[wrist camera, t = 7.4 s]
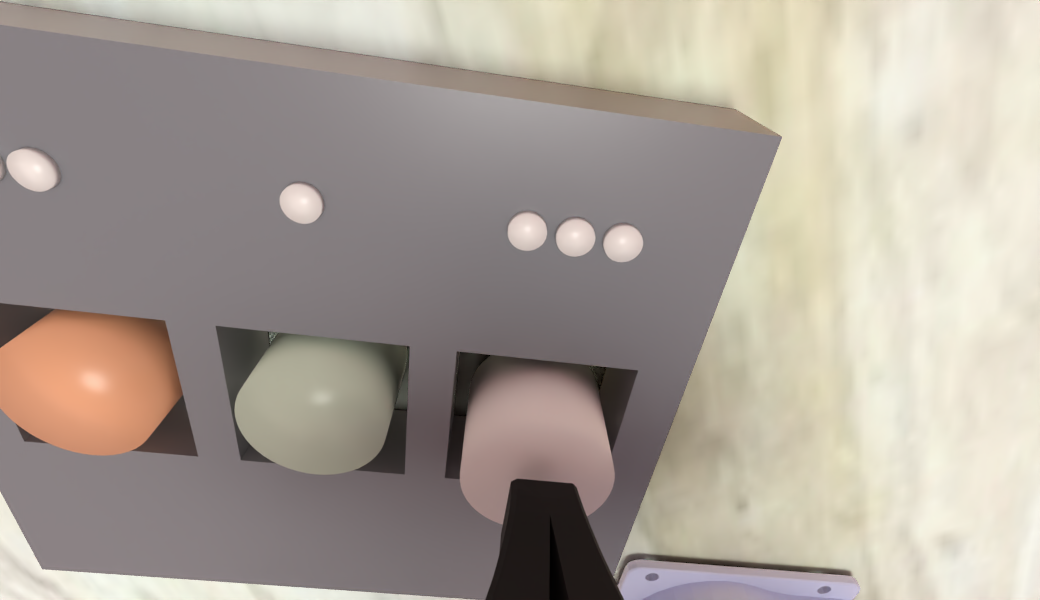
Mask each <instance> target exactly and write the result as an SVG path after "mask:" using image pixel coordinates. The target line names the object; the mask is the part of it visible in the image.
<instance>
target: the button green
mask: <svg viewBox="0 0 1040 600" xmlns="http://www.w3.org/2000/svg"><path fill="white" fill-rule="evenodd" d="M407 358H408V352H407V346H402V345H393V344H384V343H374V342H365V341H355V340H346V339H336V338H327V337H317V336H308V335H298V334H289V333H278V334H277V336H276V337H275V339H274V340H273V341H272V343H271V344H270V346H269V347H268V349H267V350H266V352H265V353H264V355H263V356H262V358H261V359H260V361H259V362H258V364H257V365H256V367H255V368H254V370H253V371H252V373H251V374H250V376H249V377H248V379H247V380H246V382H245V383H244V385H243V386H242V388H241V389H240V391H239V393H238V395H237V398H236V401H235V409H234V410H235V418H236V422H237V425H238V427H239V429H240V431H241V433H242V434H243V436H244V437H245V439H246V440H247V441H248V442H249V444H250V445H251V446H252V447H253V448H255V449H256V450H257V451H258V452H259V453H261V454H262V455H263V456H265V457H266V458H268V459H269V460H271V461H273V462H275V463H277V464H279V465H281V466H284V467H286V468H289V469H292V470H295V471H299V472H303V473H309V474H318V475H332V474H340V473H345V472H349V471H353V470H355V469H358V468H360V467H362V466H364V465H366V464H367V463H369V462H370V461H371V460H372V459H374V458H375V457H376V456H377V454H378V453H379V452H380V450H381V449H382V447H383V445H384V442H385V439H386V435H387V432H388V428H389V425H390V421H391V418H392V414H393V410H394V407H395V403H396V400H397V396H398V393H399V389H400V386H401V382H402V379H403V375H404V372H405V368H406V364H407Z"/></svg>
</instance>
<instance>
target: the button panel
mask: <svg viewBox="0 0 1040 600" xmlns="http://www.w3.org/2000/svg"><path fill="white" fill-rule="evenodd" d="M781 139H782V136H780V135H778V134H777V133H775V132H773V131H771V130H770V129H768V128H766V127H765V126H763V125H761V124H759V123H758V122H756V121H754V120H753V119H751V118H749V117H748V116H746V115H744V114H742V113H741V112H739V111H737V110H736V109H730V108H723V107H716V106H709V105H702V104H696V103H689V102H682V101H675V100H668V99H661V98H655V97H648V96H641V95H634V94H627V93H620V92H614V91H607V90H600V89H593V88H586V87H579V86H573V85H566V84H559V83H552V82H545V81H538V80H532V79H525V78H518V77H511V76H504V75H498V74H491V73H484V72H477V71H470V70H463V69H457V68H450V67H443V66H436V65H429V64H422V63H416V62H409V61H402V60H395V59H388V58H381V57H375V56H368V55H361V54H354V53H347V52H341V51H334V50H327V49H320V48H313V47H306V46H300V45H293V44H286V43H279V42H272V41H265V40H259V39H252V38H245V37H238V36H231V35H224V34H218V33H211V32H204V31H197V30H190V29H183V28H177V27H170V26H163V25H156V24H149V23H143V22H136V21H129V20H122V19H115V18H108V17H102V16H95V15H88V14H81V13H74V12H67V11H61V10H54V9H47V8H40V7H33V6H26V5H20V4H13V3H6V2H0V348H1V347H2V346H4V345H5V344H7V343H8V342H9V341H11V340H12V339H14V338H15V337H16V336H18V335H19V334H21V333H22V332H23V331H25V330H26V329H28V328H29V327H30V326H32V325H33V324H35V323H36V322H37V321H39V320H40V319H42V318H43V317H44V316H46V315H47V314H49V313H50V312H51V311H53V310H54V309H62V310H71V311H81V312H90V313H100V314H109V315H118V316H128V317H137V318H147V319H156V320H165V322H166V326H167V330H168V334H169V338H170V343H171V347H172V351H173V355H174V359H175V363H176V367H177V371H178V375H179V379H180V384H181V388H182V392H183V395H182V397H181V398H180V399H179V400H178V402H177V403H176V404H175V405H174V407H173V408H172V409H171V410H170V412H169V413H168V414H167V415H166V417H165V418H164V419H163V420H162V422H161V423H160V424H159V425H158V427H157V428H156V429H155V430H154V432H153V433H152V434H151V435H150V437H149V438H148V439H147V440H146V441H145V442H144V443H143V444H142V445H141V446H139V447H137V448H136V449H134V450H131V451H129V452H126V453H122V454H116V455H105V456H101V455H88V454H81V453H77V452H72V451H69V450H65V449H62V448H59V447H57V446H54V445H51V444H49V443H47V442H45V441H42V440H41V439H39V438H37V437H35V436H33V435H32V434H30V433H28V432H27V431H25V430H24V429H22V428H21V427H20V426H18V425H17V424H16V423H15V422H13V421H12V420H11V419H10V418H9V417H8V416H7V415H6V414H5V413H4V412H3V411H2V410H1V409H0V492H1V493H2V495H3V497H4V499H5V501H6V503H7V504H8V506H9V508H10V510H11V512H12V514H13V516H14V517H15V519H16V521H17V523H18V525H19V527H20V529H21V530H22V532H23V534H24V536H25V538H26V540H27V542H28V543H29V545H30V547H31V549H32V551H33V553H34V555H35V556H36V558H37V560H38V562H39V564H40V566H41V568H42V569H48V570H63V571H77V572H91V573H106V574H120V575H134V576H148V577H163V578H177V579H191V580H206V581H220V582H234V583H248V584H263V585H277V586H291V587H306V588H320V589H334V590H349V591H363V592H377V593H391V594H406V595H420V596H434V597H449V598H463V599H477V600H485V599H486V596H487V593H488V590H489V587H490V585H491V582H492V578H493V575H494V572H495V568H496V565H497V561H498V558H499V551H500V540H501V531H502V526H503V525H502V524H499V523H497V522H494V521H492V520H490V519H488V518H486V517H484V516H483V515H482V514H480V513H479V512H477V511H476V510H475V509H474V508H473V507H472V506H471V505H470V504H469V502H468V501H467V500H466V498H465V496H464V494H463V492H462V489H461V485H460V468H461V460H462V451H463V442H464V433H465V424H466V416H457V415H454V406H455V396H456V386H457V376H458V365H459V355H460V352H469V353H478V354H488V355H497V356H507V357H516V358H526V359H535V360H544V361H554V362H563V363H573V364H582V365H592V366H601V367H606V370H605V373H604V377H603V381H602V384H601V388H600V391H599V396H600V401H601V406H602V411H603V416H604V421H605V426H606V431H607V436H608V441H609V445H610V450H611V455H612V460H613V465H614V471H615V480H614V484H613V488H612V490H611V493H610V495H609V496H608V498H607V499H606V501H605V502H604V503H603V504H602V505H601V506H600V507H599V508H598V509H597V510H596V511H594V512H593V513H592V514H590V515H589V516H587V518H588V520H589V523H590V526H591V528H592V530H593V533H594V535H595V538H596V540H597V542H598V545H599V547H600V549H601V552H602V554H603V556H604V558H605V561H606V563H607V565H608V567H609V569H610V571H611V573H612V576H613V575H614V573H615V570H616V568H617V565H618V562H619V560H620V557H621V555H622V552H623V549H624V547H625V544H626V542H627V539H628V536H629V534H630V531H631V529H632V526H633V523H634V521H635V518H636V516H637V513H638V510H639V508H640V505H641V503H642V500H643V497H644V495H645V492H646V490H647V487H648V484H649V482H650V479H651V477H652V474H653V471H654V469H655V466H656V464H657V461H658V458H659V456H660V453H661V451H662V448H663V445H664V443H665V440H666V438H667V435H668V432H669V430H670V427H671V425H672V422H673V419H674V417H675V414H676V412H677V409H678V406H679V404H680V401H681V399H682V396H683V393H684V391H685V388H686V386H687V383H688V380H689V378H690V375H691V373H692V370H693V367H694V365H695V362H696V360H697V357H698V354H699V352H700V349H701V347H702V344H703V341H704V339H705V336H706V334H707V331H708V328H709V326H710V323H711V321H712V318H713V315H714V313H715V310H716V308H717V305H718V302H719V300H720V297H721V295H722V292H723V289H724V287H725V284H726V282H727V279H728V276H729V274H730V271H731V269H732V266H733V263H734V261H735V258H736V256H737V253H738V250H739V248H740V245H741V243H742V240H743V237H744V235H745V232H746V230H747V227H748V224H749V222H750V219H751V217H752V214H753V211H754V209H755V206H756V204H757V201H758V198H759V196H760V193H761V191H762V188H763V186H764V183H765V180H766V178H767V175H768V173H769V170H770V167H771V165H772V162H773V160H774V157H775V154H776V152H777V149H778V147H779V144H780V141H781ZM268 331H270V332H279V333H289V334H298V335H308V336H317V337H327V338H336V339H346V340H355V341H365V342H374V343H384V344H393V345H402V346H410V354H409V379H408V405H407V411H406V410H395V409H394V410H393V414H392V418H391V421H390V425H389V428H388V432H387V435H386V439H385V442H384V445H383V447H382V449H381V450H380V452H379V453H378V454H377V456H376V457H375V458H374V459H372V460H371V461H370V462H369V463H367V464H366V465H364V466H362V467H360V468H358V469H355V470H353V471H349V472H345V473H340V474H332V475H318V474H309V473H303V472H299V471H295V470H292V469H289V468H286V467H284V466H281V465H279V464H277V463H275V462H273V461H271V460H269V459H268V458H266V457H265V456H263V455H262V454H261V453H259V452H258V451H257V450H256V449H255V448H253V447H252V446H251V445H250V444H249V442H248V441H247V440H246V439H245V437H244V436H243V434H242V433H241V431H240V429H239V427H238V425H237V422H236V418H235V410H234V409H235V401H236V398H237V395H238V393H239V391H240V389H241V388H242V386H243V385H244V383H245V382H246V380H247V379H248V377H249V376H250V374H251V373H252V371H253V370H254V368H255V367H256V365H257V364H258V362H259V361H260V359H261V358H262V356H263V355H264V353H265V352H266V350H267V349H268V347H269V346H270V345H269V338H268Z"/></svg>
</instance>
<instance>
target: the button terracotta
mask: <svg viewBox="0 0 1040 600" xmlns="http://www.w3.org/2000/svg"><path fill="white" fill-rule="evenodd" d="M182 395H183V392H182V388H181V384H180V379H179V375H178V371H177V367H176V363H175V359H174V355H173V351H172V347H171V343H170V338H169V334H168V330H167V326H166V322H165V320H156V319H147V318H137V317H128V316H118V315H109V314H100V313H90V312H81V311H71V310H62V309H54V310H53V311H51V312H50V313H49V314H47V315H46V316H44V317H43V318H42V319H40V320H39V321H37V322H36V323H35V324H33V325H32V326H30V327H29V328H28V329H26V330H25V331H23V332H22V333H21V334H19V335H18V336H16V337H15V338H14V339H12V340H11V341H9V342H8V343H7V344H5V345H4V346H2V347H1V348H0V409H1V410H2V411H3V412H4V413H5V414H6V415H7V416H8V417H9V418H10V419H11V420H12V421H13V422H15V423H16V424H17V425H18V426H20V427H21V428H22V429H24V430H25V431H27V432H28V433H30V434H32V435H33V436H35V437H37V438H39V439H41V440H42V441H45V442H47V443H49V444H51V445H54V446H57V447H59V448H62V449H65V450H69V451H72V452H77V453H81V454H88V455H101V456H105V455H116V454H122V453H126V452H129V451H131V450H134V449H136V448H137V447H139V446H141V445H142V444H143V443H144V442H145V441H146V440H147V439H148V438H149V437H150V435H151V434H152V433H153V432H154V430H155V429H156V428H157V427H158V425H159V424H160V423H161V422H162V420H163V419H164V418H165V417H166V415H167V414H168V413H169V412H170V410H171V409H172V408H173V407H174V405H175V404H176V403H177V402H178V400H179V399H180V398H181V397H182Z"/></svg>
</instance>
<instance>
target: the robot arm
mask: <svg viewBox="0 0 1040 600" xmlns="http://www.w3.org/2000/svg"><path fill="white" fill-rule="evenodd" d="M859 591H860V586H859V584H858V582H857V580H856V579H855V578H854V577H852V576H847V575H834V574H821V573H808V572H795V571H782V570H769V569H756V568H744V567H731V566H718V565H705V564H692V563H679V562H666V561H653V560H633V561H630V562H629V563H628V564H627V565H626V566H625V568H624V571H623V573H622V576H621V578H620V581H619V583H618V586H617V584H616V582H615V580H614V578H613V576H612V573H611V571H610V569H609V567H608V565H607V563H606V561H605V558H604V556H603V554H602V552H601V549H600V547H599V545H598V542H597V540H596V538H595V535H594V533H593V530H592V528H591V526H590V523H589V520H588V518H587V515H586V513H585V510H584V507H583V504H582V502H581V499H580V496H579V493H578V490H577V487H576V486H575V485H574V484H573V483H563V482H552V481H540V480H528V479H515V480H513V481H511V484H510V489H509V494H508V500H507V505H506V510H505V515H504V521H503V526H502V531H501V540H500V551H499V558H498V561H497V565H496V568H495V572H494V575H493V578H492V582H491V585H490V587H489V590H488V593H487V596H486V599H485V600H853V599H854V598H855V597H856V595H857V594H858V593H859Z"/></svg>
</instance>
